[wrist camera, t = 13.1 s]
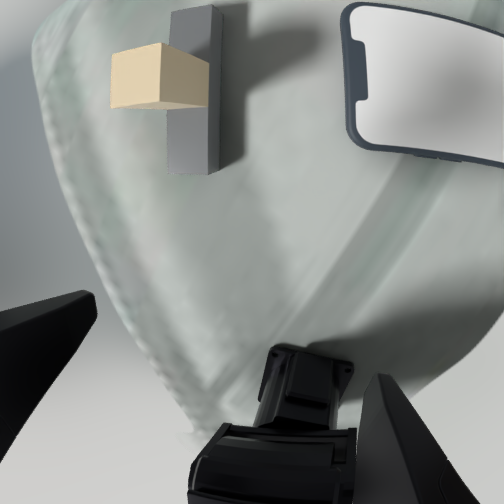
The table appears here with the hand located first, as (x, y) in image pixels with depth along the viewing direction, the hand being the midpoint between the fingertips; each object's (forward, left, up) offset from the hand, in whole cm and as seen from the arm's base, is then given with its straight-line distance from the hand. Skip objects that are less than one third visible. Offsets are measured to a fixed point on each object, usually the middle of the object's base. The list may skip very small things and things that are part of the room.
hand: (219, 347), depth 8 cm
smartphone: (+11, -10, -12) cm, 19 cm away
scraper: (+8, +6, -11) cm, 15 cm away
